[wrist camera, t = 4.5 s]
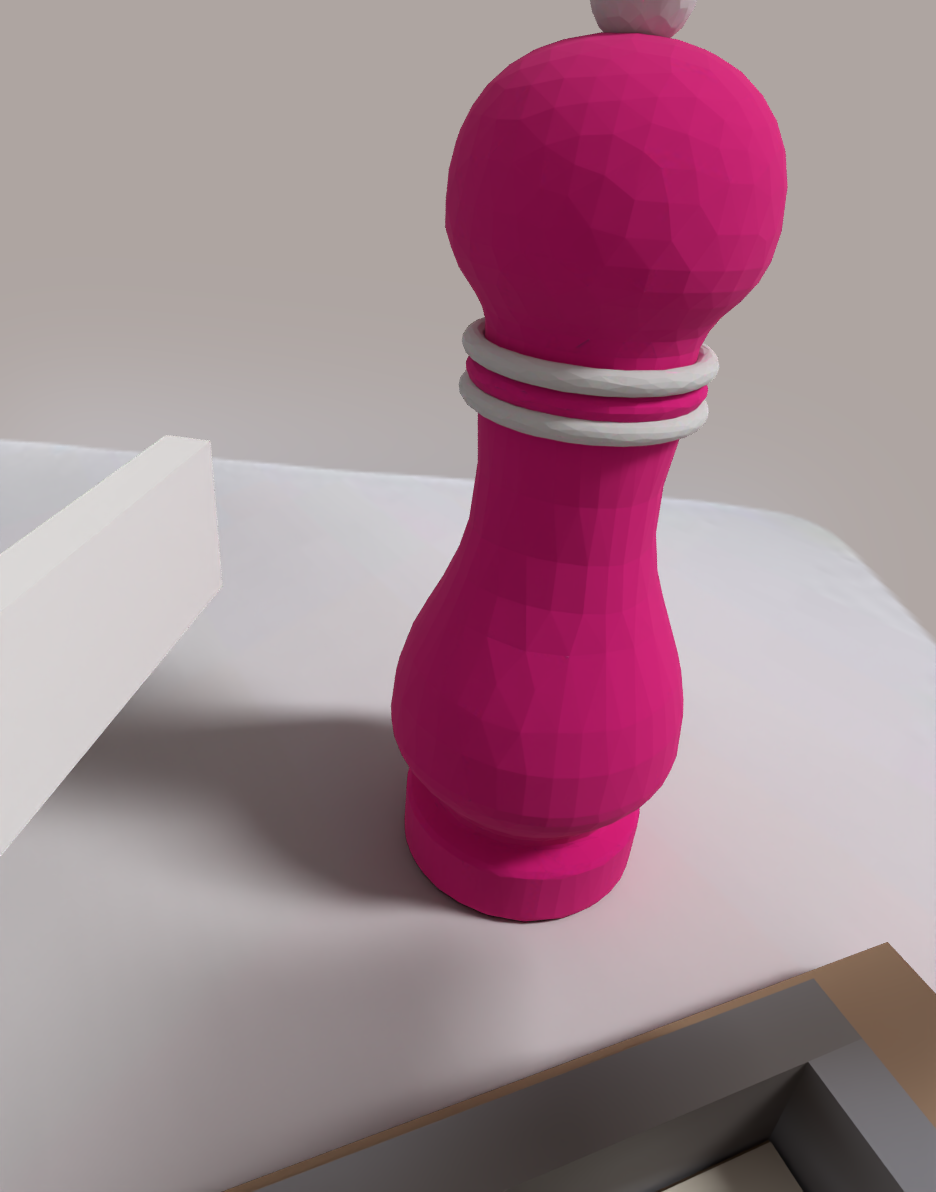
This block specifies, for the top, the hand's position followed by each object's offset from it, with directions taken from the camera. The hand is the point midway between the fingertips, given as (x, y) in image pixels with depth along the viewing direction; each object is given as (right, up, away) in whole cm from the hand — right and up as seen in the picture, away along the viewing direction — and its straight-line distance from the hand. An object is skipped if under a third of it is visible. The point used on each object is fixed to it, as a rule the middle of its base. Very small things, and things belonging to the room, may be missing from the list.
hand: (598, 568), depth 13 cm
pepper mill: (-1, -7, +10) cm, 12 cm away
